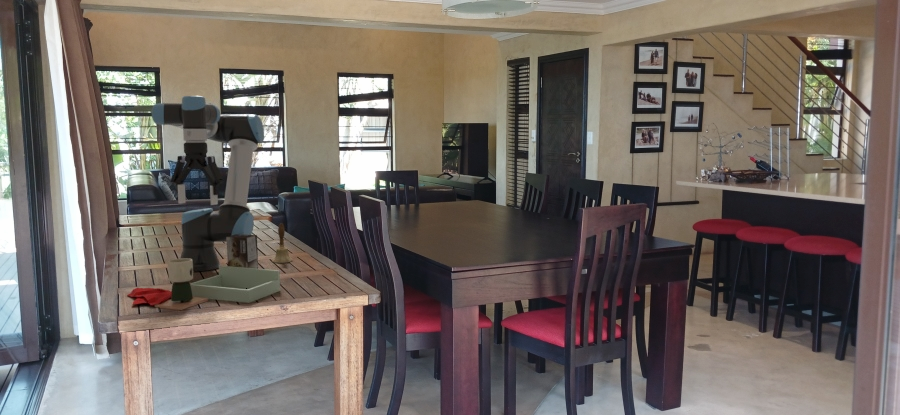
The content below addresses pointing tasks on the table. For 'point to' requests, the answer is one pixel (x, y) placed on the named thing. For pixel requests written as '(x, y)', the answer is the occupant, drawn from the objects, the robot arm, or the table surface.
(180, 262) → the character mug
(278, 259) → the hand bell
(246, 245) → the coffee box
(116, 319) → the table surface
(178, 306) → the terracotta tile
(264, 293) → the frame
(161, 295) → the cloth
